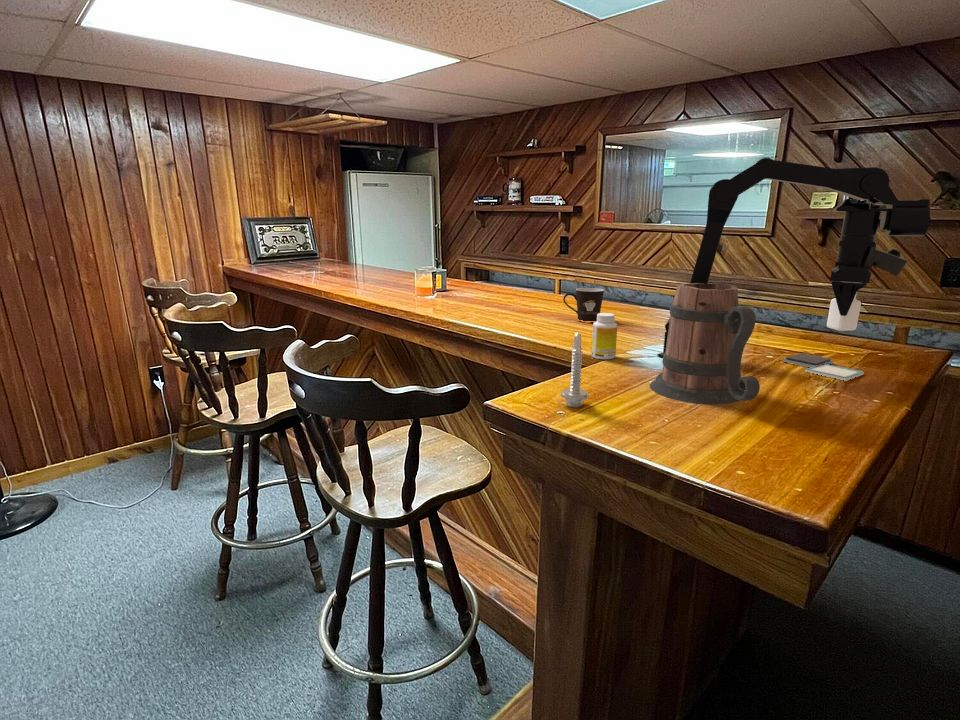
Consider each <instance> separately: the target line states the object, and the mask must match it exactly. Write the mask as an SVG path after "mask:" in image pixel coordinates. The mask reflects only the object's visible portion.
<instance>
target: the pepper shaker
mask: <svg viewBox="0 0 960 720" xmlns="http://www.w3.org/2000/svg"><path fill="white" fill-rule="evenodd" d="M857 294H858V292H857V293H856V295H855V297H854V299H853V302H852V304H851V306H850V309H849V311H848V313H847V315H846V316H842V315H840V313H839V309H838V305H837V302H836V298H832V299H831V300H830V304H829V310H828V316H827V321H826V328H828V329H831V330H836V331H840V332H847V331H848V332H850V331H856V330H857V328H858V322H859V317H860V312H861V305H862V302H861V301H860V300H859V299H857Z"/></svg>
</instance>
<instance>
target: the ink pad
mask: <svg viewBox="0 0 960 720" xmlns="http://www.w3.org/2000/svg"><path fill="white" fill-rule="evenodd" d="M783 362H788V363H793V364H796V365H795V366H797V365H800V366H799V367H802V366H805V367H804V368H807V367H813V366H817V367H818V366H821V365H822V364H823V365H824V364H829V365H830V364H831V365H833V364H834V360H833V359H831V357H824V356H820V355H815V354H809V353H804V352H800V353H797V354H793V355H790V356H786V358H783V359H782V363H783ZM788 363H787V364H788Z"/></svg>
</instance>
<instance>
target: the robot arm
mask: <svg viewBox="0 0 960 720" xmlns="http://www.w3.org/2000/svg"><path fill="white" fill-rule="evenodd" d="M764 180H767V181H768V180H769V181H776V182H782V183H790V184H795V185H801V186H807V187H815V188H822V189H826V190H829V191H831V192H835V193H837V194H839V195H842V196H846V197H848V198H852V199H854V200H856V201H857V200H858V201H865V200H866V201H868V202H870V203H871V204H872V205H874V206H886V208H870V204H869V203H868V202H851V201H850V199H848V198H845V199H843V201H841V203H839V204H838V205H837V206H836V207H834V208H833V212H837V213H838V212H840V213H841V212H844V215H843V220H842V221H843V222H842V228H841V231H840V232H841V233H840V237H839V238H840V240H839V242H838V249H837V250H838V251H837V257H836V261H835V264H834V268H833V269H831V272H830V273H831V274H830V278H829V281H830V284H831V287H832V290H833V295H834V297H835V298H836V302H837V305H838V309H839V313H840V315H842V316H846V315H847V313H848V311H849V309H850V306H851V304H852V302H853V299H854V297H855V295H856V296H857V294H858V291H859V290H862V288H864V287H866V286H867V285H869V284H870V280H871V276H872V271H871V270H872V269H873V267H875V268H878V269H881V270H882V271H886V272H888V273H890V274H891V275H893V276H896V277H899V275H900V274H901V273H902V271H903V270H904V268H905V267H906V265H907V264H908V262H909V260H908V259H907V258H903V257H901V250H897V249H894V248H891V249H889V250H888V251H885V250H880V249H877V242H876V237H877V232H878V228H879V230H880V231H884V234H885V236H886V237H924V236H925V235H926V233H927V232H928V230H929V228H930V223H931V219H932V218H931V208H930V201H931V199H929V198H921V199H914V200H907V199H906V200H899V198H898V197H897V196H896V194H895V193H894V191H893V190H892V189H891V187H890V186H889V184H890V177H889V174H888V173H887V171H886V170H885V169H883V168H880V167H876V166H875V167H874V166H873V167H871V166H870V167H844V168H842V167H841V168H833V167H826V166H818V165H811V164H806V163H805V164H804V163H798V162H790V161H784V160H775V159H773V158H771V157H763V158H760V159H759V160H758V161H757V162H755V163H754V164H753V165H751V166H749V167H748V168H746V169H744V170H743V171H740V172H739V173H738V174H736V175H735V176H733V177H732V178H729V179H727V178H723V179H720V180H717V181H716V182H715V183H713V184H712V186H711V187H710V189H709V192H708V198H707V199H708V201H707V210H706V212H707V214H706V225H705V228H704V232H703V234H702V235H703V236H702V239H701V243H700V246H699V249H698V253H697V257H696V261H695V265H694V268H693V271H692V274H691V279H690V283H704V284H709V279H710V276H711V273H712V269H713V267H714V264H715V263H714V262H715V259H716V255H717V251H718V248H719V245H720V241H721V238H722V234H723V231H724V228H725V226H726V225H725V224H726V223H727V221H728V220H729V217H730V215H731V213H732V210H733V209H734V206H735V205H736V202H737V201H738V198H739V196H740V195H741V194H743V193H745V192H746V191H748V190H750V189H751V188H753V187H754V186H755V185H758V184H759V183H761V182H763V181H764ZM880 216H881V217H880ZM878 226H879V227H878ZM856 293H857V294H856ZM669 323H670V317H669V318H668V320H667V321H666V323H665V325H664V328H665V329H664V330H665V331H664V339H663V351H662V352H661V353H660V352H659V353H657V355H656V356H657V357H660V358H663V354H664V353H665V351H666V344H667V337H668V330H669Z"/></svg>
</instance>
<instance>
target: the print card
mask: <svg viewBox="0 0 960 720" xmlns="http://www.w3.org/2000/svg"><path fill="white" fill-rule="evenodd" d="M804 371H805V372H804V373H807V372H810V373H809V374H812V373H814V374H813V375H816V374H818V375H817V376H821V375H822V377H825V376H826V377H827V378H830V377H831V379H834V378H836V379H835V380H839V379H840V380H839V381H843V380H844V382H847V381H851V380H853V379H856V378H858V377H860V376H863V375H864V373H865V372H864V371H863V370H860V369H859V370H858V369H852V368H848V367H842V366H838V365H833V364H831V365H829V364H824V365H823V364H822V365H821V366H818V367H817V366H813V367H810V368H807V367H806V368H805V369H804ZM855 377H856V378H855ZM850 379H851V380H850Z"/></svg>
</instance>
